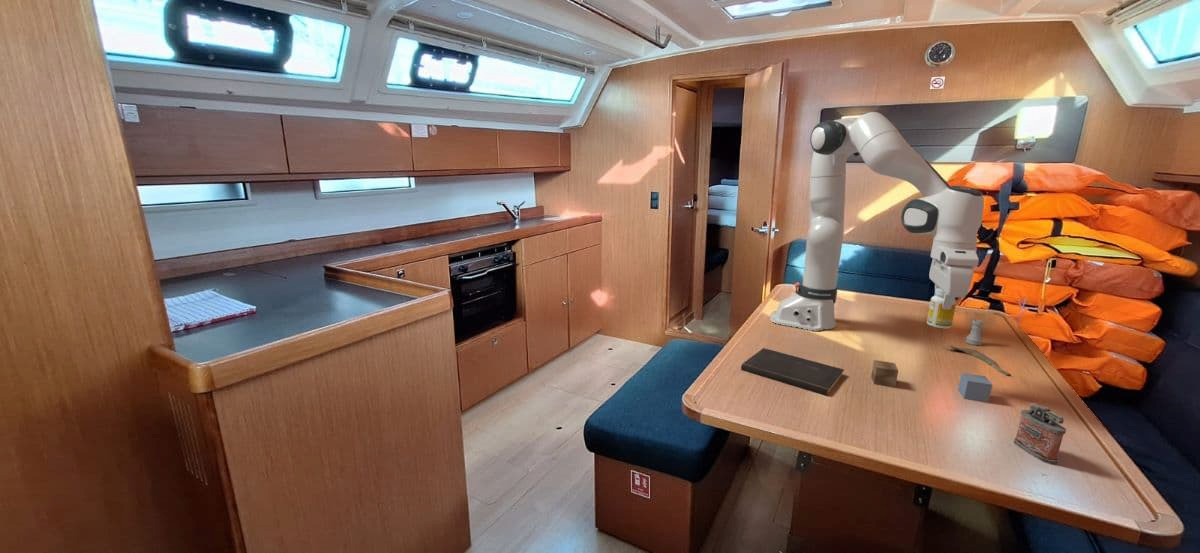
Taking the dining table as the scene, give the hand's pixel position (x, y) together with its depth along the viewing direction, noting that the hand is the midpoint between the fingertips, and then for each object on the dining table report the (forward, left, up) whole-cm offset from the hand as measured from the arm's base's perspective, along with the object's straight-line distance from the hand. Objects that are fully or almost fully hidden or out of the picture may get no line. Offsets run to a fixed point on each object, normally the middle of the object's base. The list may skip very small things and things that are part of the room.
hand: (942, 304), depth 122 cm
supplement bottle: (0, 0, -6) cm, 6 cm away
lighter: (+13, -28, -22) cm, 38 cm away
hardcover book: (-34, -8, -23) cm, 42 cm away
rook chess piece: (+21, +40, -22) cm, 50 cm away
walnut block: (-11, -4, -22) cm, 25 cm away
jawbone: (+17, +23, -23) cm, 36 cm away
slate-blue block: (+9, -4, -22) cm, 24 cm away
